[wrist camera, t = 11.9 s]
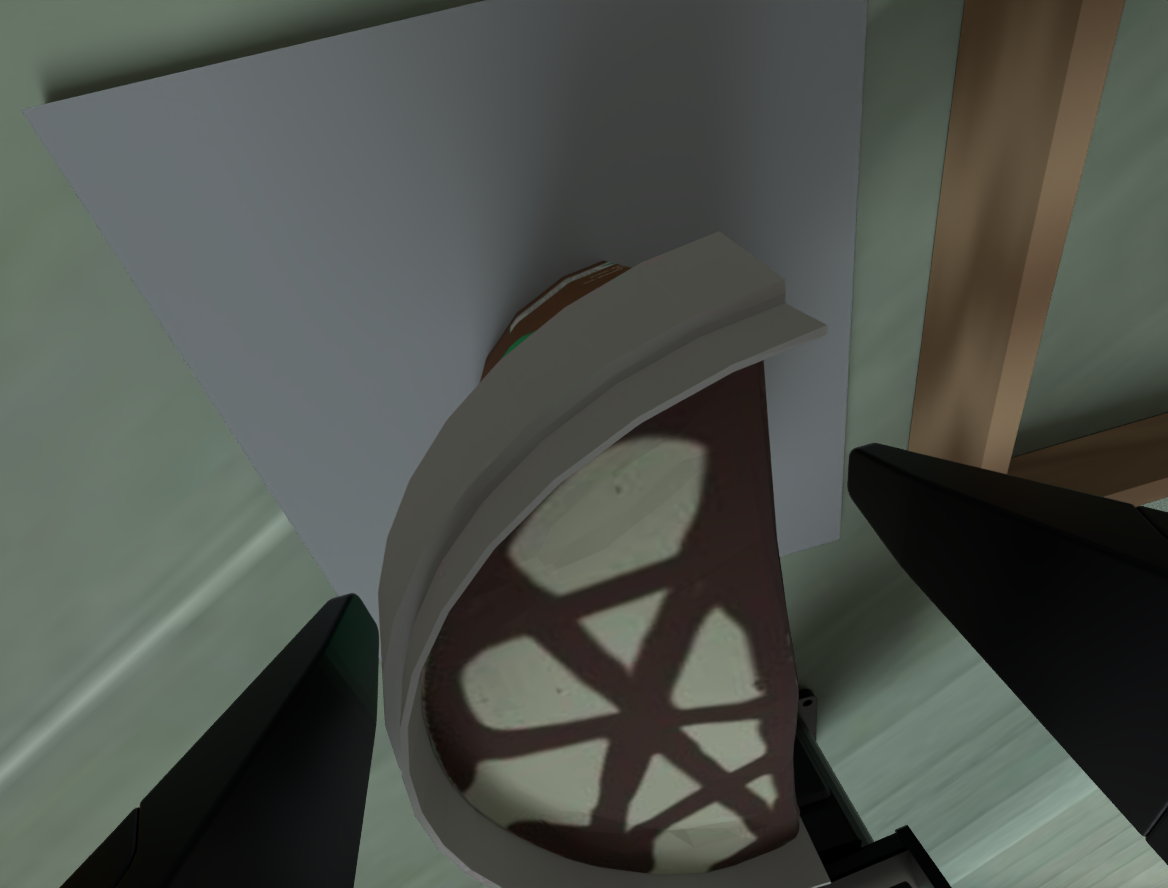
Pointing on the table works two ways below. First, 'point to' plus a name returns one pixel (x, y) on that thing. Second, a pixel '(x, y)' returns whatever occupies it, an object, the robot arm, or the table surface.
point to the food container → (606, 593)
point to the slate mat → (472, 221)
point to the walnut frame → (1018, 246)
